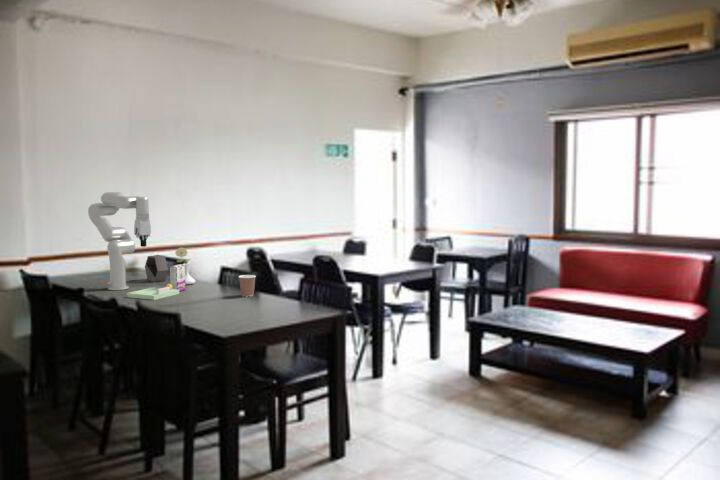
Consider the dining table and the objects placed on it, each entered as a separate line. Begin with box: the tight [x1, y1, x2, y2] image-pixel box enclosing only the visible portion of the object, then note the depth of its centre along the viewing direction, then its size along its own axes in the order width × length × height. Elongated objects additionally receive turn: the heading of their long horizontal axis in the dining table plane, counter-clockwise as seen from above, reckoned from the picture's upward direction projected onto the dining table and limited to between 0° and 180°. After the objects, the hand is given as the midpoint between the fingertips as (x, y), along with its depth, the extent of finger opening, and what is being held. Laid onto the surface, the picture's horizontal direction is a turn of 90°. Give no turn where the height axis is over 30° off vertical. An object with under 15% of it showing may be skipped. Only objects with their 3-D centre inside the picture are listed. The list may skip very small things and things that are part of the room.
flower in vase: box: [174, 247, 196, 285], centre depth 416 cm, size 13×11×25 cm
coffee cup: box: [238, 274, 257, 298], centre depth 374 cm, size 10×10×12 cm
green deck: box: [126, 286, 180, 301], centre depth 375 cm, size 21×22×6 cm
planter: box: [144, 255, 169, 283], centre depth 431 cm, size 17×8×21 cm
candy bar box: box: [169, 264, 187, 293], centre depth 389 cm, size 11×5×16 cm, turn 168°
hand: (143, 246), depth 382 cm, fingers closed
